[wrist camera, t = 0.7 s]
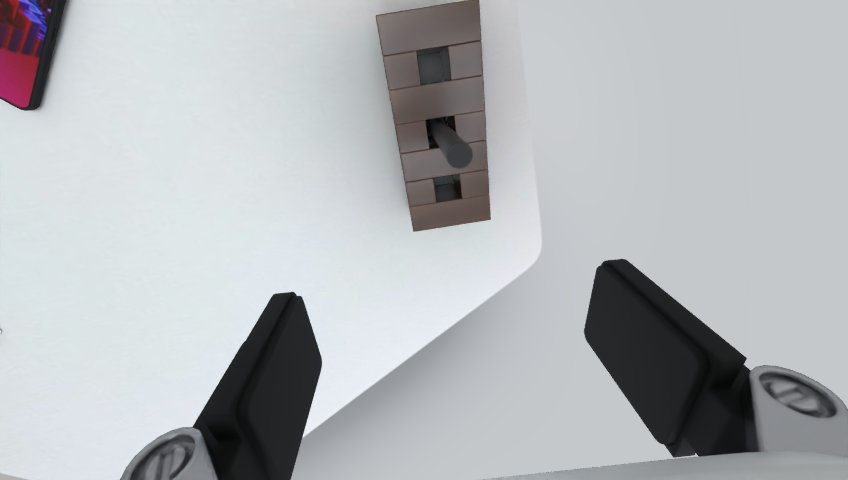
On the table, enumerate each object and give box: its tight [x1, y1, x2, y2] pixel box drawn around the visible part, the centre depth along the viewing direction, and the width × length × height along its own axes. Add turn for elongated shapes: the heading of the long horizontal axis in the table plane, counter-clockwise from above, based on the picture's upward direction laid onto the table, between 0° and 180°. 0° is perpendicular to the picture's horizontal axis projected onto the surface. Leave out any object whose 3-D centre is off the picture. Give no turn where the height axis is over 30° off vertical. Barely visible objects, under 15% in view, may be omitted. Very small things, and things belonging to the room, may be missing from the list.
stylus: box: [429, 118, 473, 169], centre depth 24 cm, size 2×2×14 cm
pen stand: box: [376, 0, 491, 232], centre depth 28 cm, size 17×7×5 cm, turn 8°
